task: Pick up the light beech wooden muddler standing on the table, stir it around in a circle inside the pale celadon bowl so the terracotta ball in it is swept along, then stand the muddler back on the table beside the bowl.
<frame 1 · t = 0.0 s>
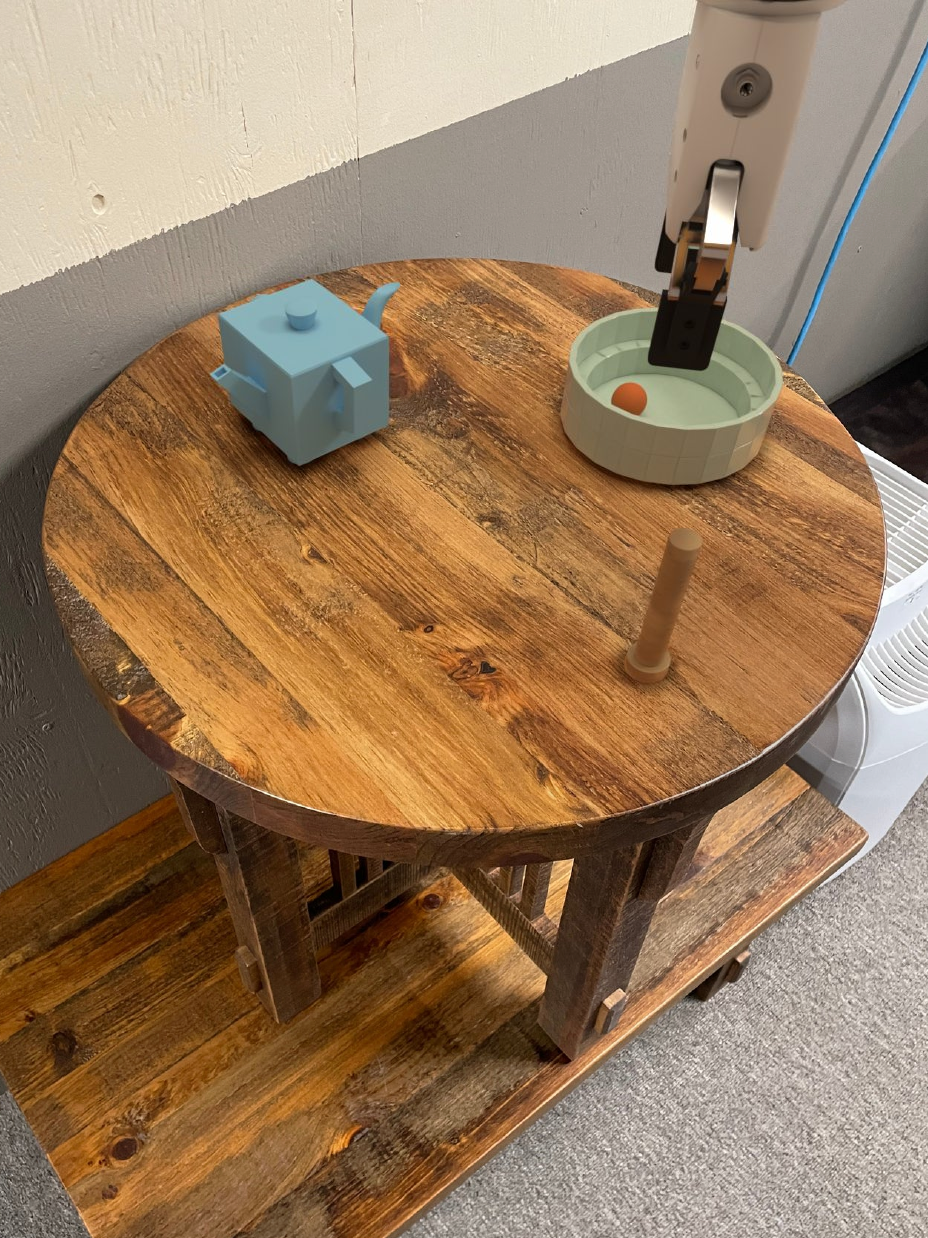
hand: (678, 316, 56), 22 cm above the table, tool pointing down, fingers open, 9 cm apart
ball: (629, 400, 85), point 2 cm above the table, touching bowl
bowl: (659, 425, 86), on the table
teapot: (317, 428, 86), on the table
muddler: (645, 667, 70), on the table
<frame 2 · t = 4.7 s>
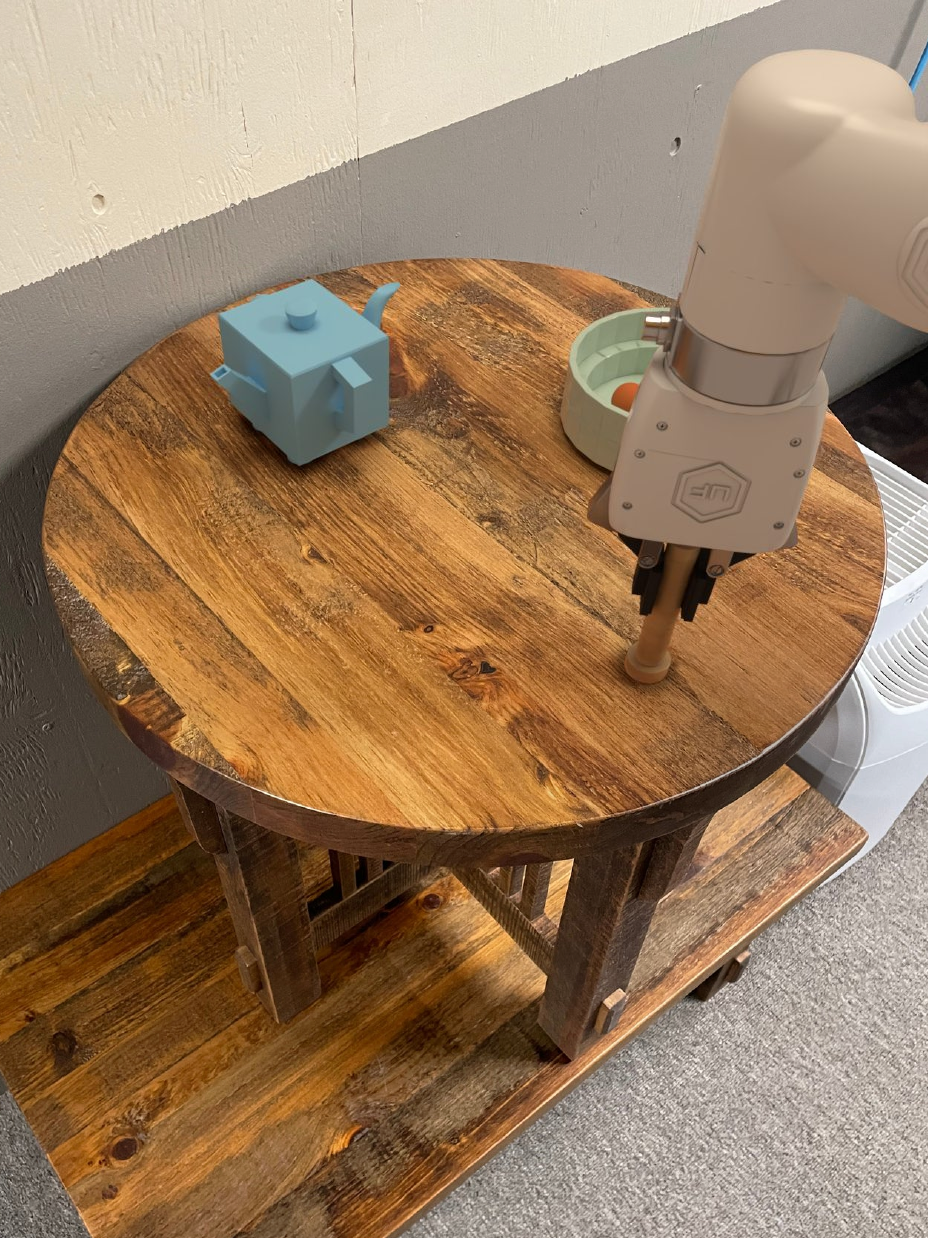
hand: (666, 601, 64), 7 cm above the table, tool pointing down, fingers closed on muddler, 2 cm apart
muddler: (645, 667, 70), on the table, touching gripper
everything else where it was.
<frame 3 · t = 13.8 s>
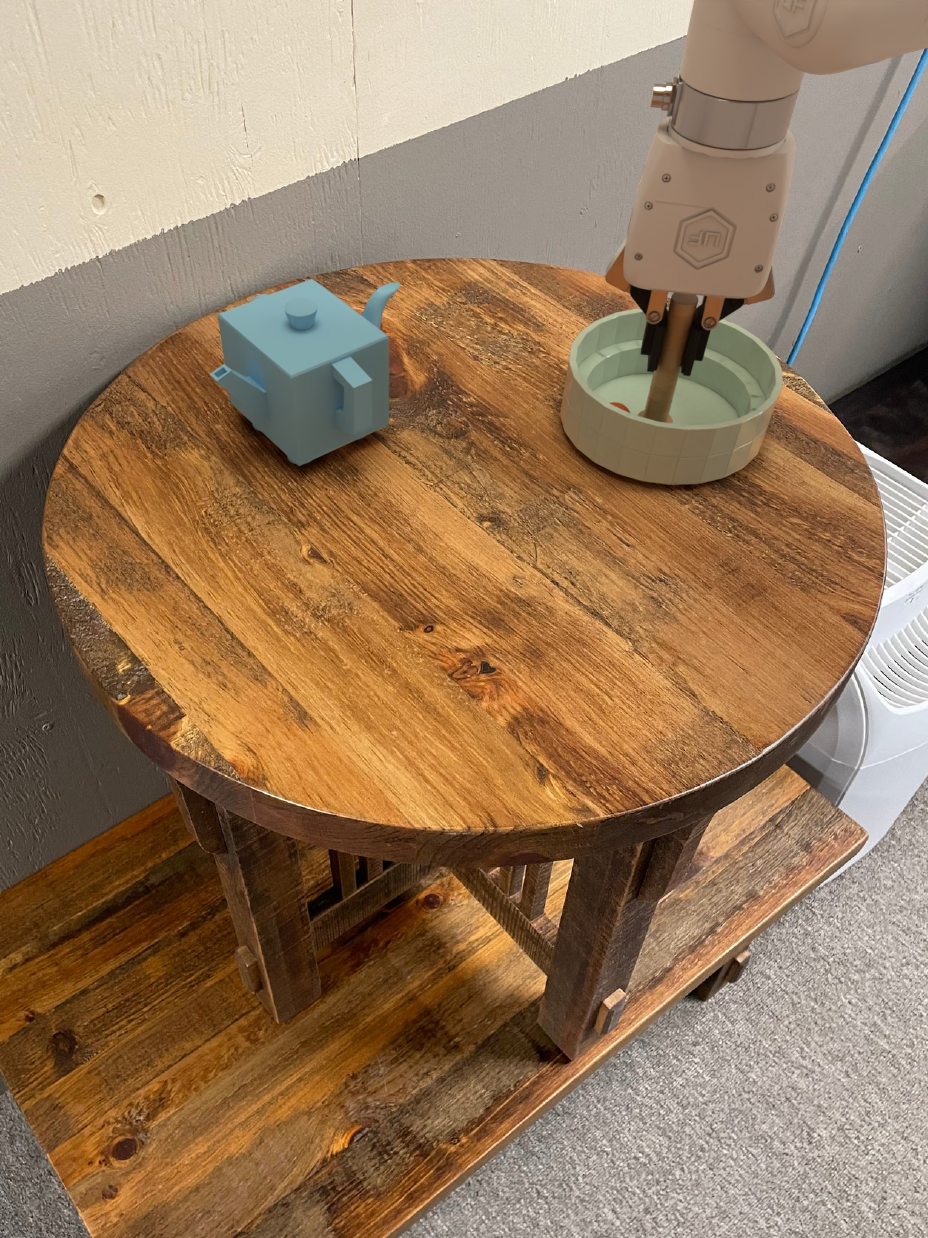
hand: (669, 362, 79), 8 cm above the table, tool pointing down, fingers closed on muddler, 2 cm apart
ball: (613, 420, 83), point 2 cm above the table, tilted 102°, touching bowl
muddler: (652, 430, 84), point 1 cm above the table, touching gripper
everything else where it was.
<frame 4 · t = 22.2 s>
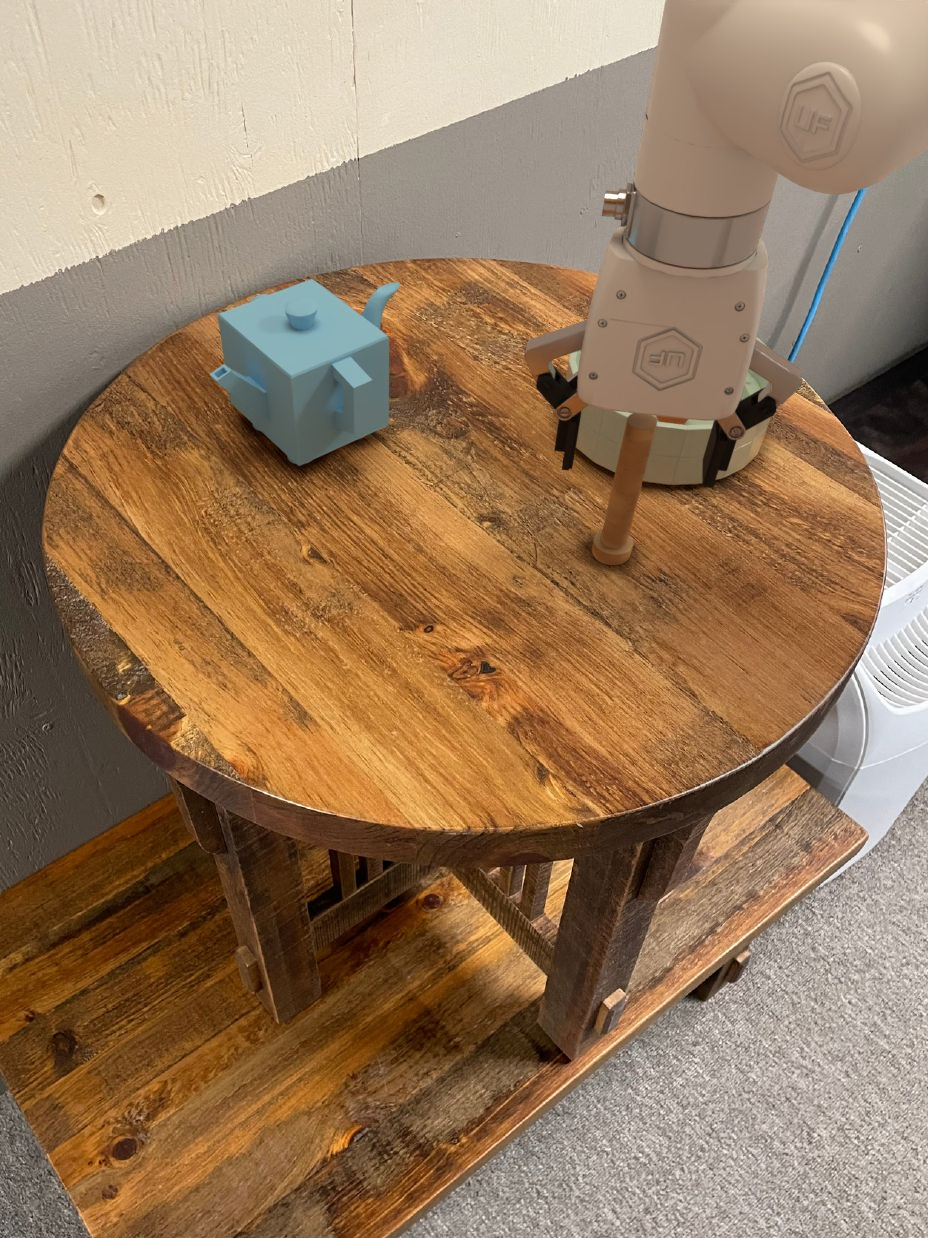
hand: (637, 466, 70), 9 cm above the table, tool pointing down, fingers open, 9 cm apart
ball: (673, 409, 84), point 2 cm above the table, tilted 108°, touching bowl
muddler: (610, 552, 77), on the table
everything else where it was.
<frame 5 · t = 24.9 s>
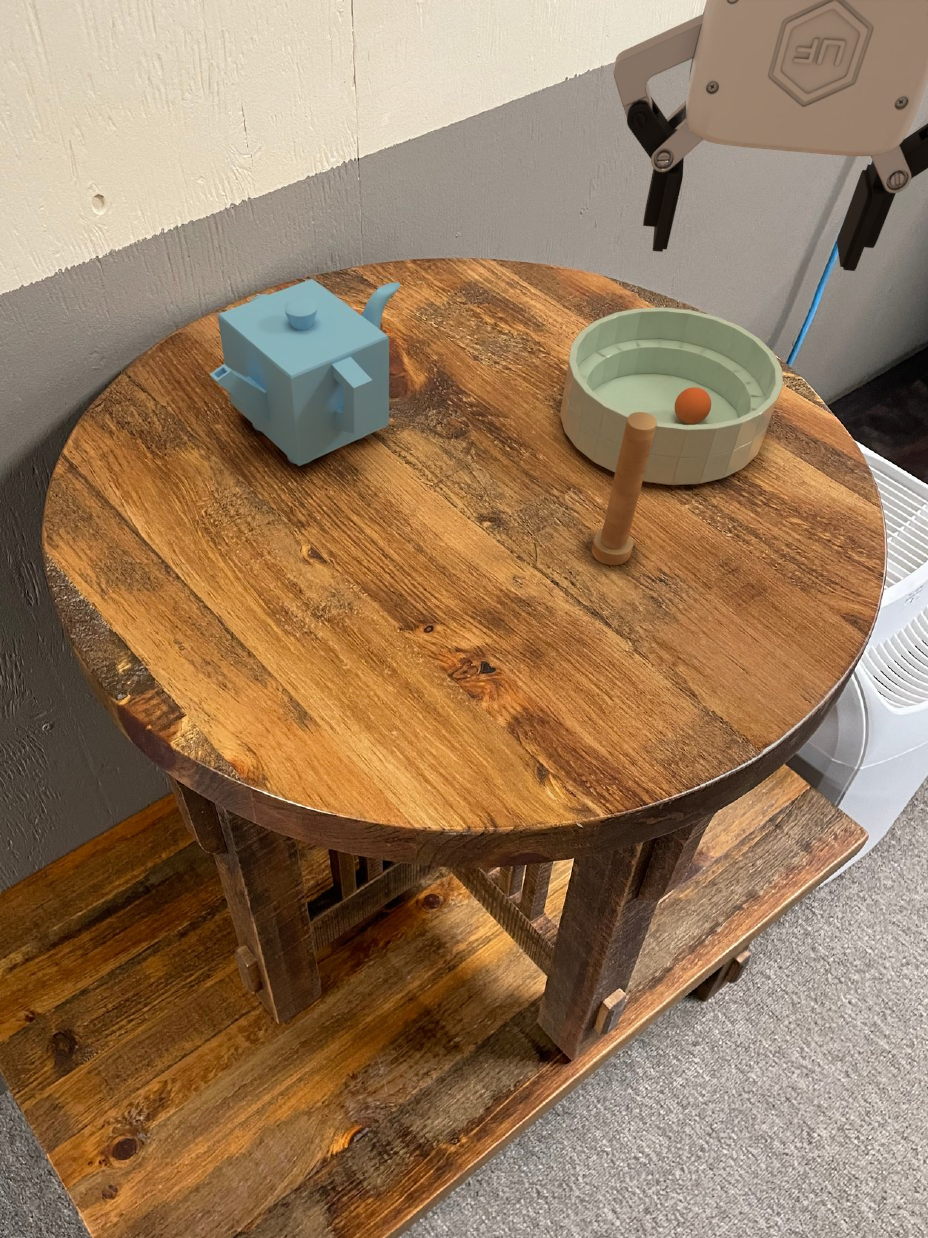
hand: (751, 248, 53), 26 cm above the table, tool pointing down, fingers open, 9 cm apart
ball: (692, 405, 85), point 2 cm above the table, tilted 156°, touching bowl
everything else where it was.
at the end: ball moved 5.4 cm from its start; ball inside the target area in the bowl (2.4 cm from its centre), point 2.1 cm above the bowl's base; muddler inside the target area (0.2 cm from its centre), on the table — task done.
